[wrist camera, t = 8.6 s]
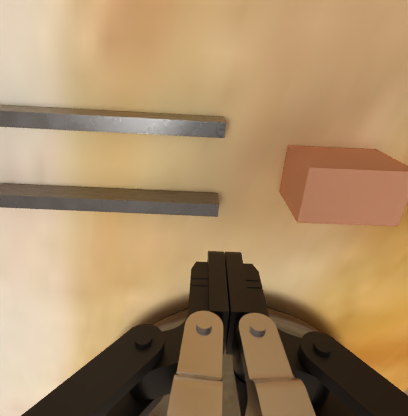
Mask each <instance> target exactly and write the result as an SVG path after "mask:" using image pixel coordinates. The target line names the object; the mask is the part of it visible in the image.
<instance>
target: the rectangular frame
mask: <svg viewBox="0 0 408 416" xmlns="http://www.w3.org/2000/svg"><path fill="white" fill-rule="evenodd" d="M225 125H226V122H225V119H224V117H220V116H201V115H183V114H164V113H145V112H126V111H107V110H89V109H70V108H51V107H32V106H13V105H0V127H19V128H39V129H58V130H78V131H97V132H117V133H136V134H156V135H176V136H195V137H215V138H224V137H225ZM0 207H7V208H30V209H53V210H76V211H100V212H123V213H146V214H169V215H192V216H215V217H218V208H219V202H218V194H217V193H205V192H183V191H161V190H139V189H117V188H95V187H73V186H52V185H30V184H8V183H0Z"/></svg>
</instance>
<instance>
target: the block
mask: <svg viewBox="0 0 408 416" xmlns="http://www.w3.org/2000/svg"><path fill="white" fill-rule="evenodd" d="M279 192H280V193H281V195H282V197H283V199H284V200H285V202H286V204H287V206H288V207H289V209H290V211H291V212H292V214H293V216H294V218H295V219H296V221H297V222H298V223H324V224H351V225H377V226H398V225H399V222H400V220H401V217H402V215H403V212H404V210H405V207H406V205H407V202H408V166H407V165H405V164H403V163H401V162H399V161H397V160H395V159H393V158H391V157H390V156H388V155H386V154H384V153H382V152H380V151H378V150H376V149H356V148H335V147H313V146H291V145H288V147H287V152H286V158H285V164H284V169H283V175H282V180H281V186H280V191H279Z"/></svg>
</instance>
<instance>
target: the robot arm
mask: <svg viewBox="0 0 408 416" xmlns="http://www.w3.org/2000/svg"><path fill="white" fill-rule="evenodd" d="M225 349H226V354H227V355H232V358H233V368H232V379H233V386H234V392H235V399H236V405H237V412H238V416H408V396H407V395H406V394H405V393H404V392H402V391H401V390H400V389H398V388H397V387H396V386H394V385H393V384H392V383H391V382H389V381H388V380H387V379H385V378H384V377H383V376H381V375H380V374H379V373H378V372H376V371H375V370H374V369H372V368H371V367H370V366H368V365H367V364H366V363H365V362H363V361H362V360H361V359H359V358H358V357H357V356H355V355H354V354H353V353H352V352H350V351H349V350H348V349H346V348H345V347H344V346H342V345H341V344H340V343H339V342H337V341H336V340H335V339H333V338H332V337H330V336H329V335H327V334H325V333H322V332H317V331H312V332H308V333H306V334H304V336H303V337H302V338H300V337H297V336H294V335H291V334H288V333H285V332H283V331H281V330H280V329H278V328H277V327H276V325H275V323H274V322H273V321H272V320H271V319H270V317H269V314H268V310H267V306H266V301H265V297H264V293H263V289H262V284H261V280H260V276H259V272H258V270H257V269H256V268H255V267H254V266H253V264H243V261H242V255H241V252H225V254H224V252H218V251H208V261H207V262H196V263H195V265H194V266H193V267H192V269H191V281H190V295H189V309H188V316H187V318H186V320H185V321H184V322H183V323H182V324H181V325H180V326H178V327H176V328H174V329H170V330H166V331H163V332H162V331H161V330H160V329H159V328H158V327H156V326H154V325H151V324H142V325H138V326H135V327H133V328H132V329H130V330H129V331H128V332H127V333H125V334H124V335H123V336H122V337H120V338H119V339H118V340H116V341H115V342H114V343H113V344H111V345H110V346H109V347H108V348H106V349H105V350H104V351H103V352H101V353H100V354H99V355H97V356H96V357H95V358H94V359H92V360H91V361H90V362H89V363H87V364H86V365H85V366H84V367H82V368H81V369H80V370H78V371H77V372H76V373H75V374H73V375H72V376H71V377H70V378H68V379H67V380H66V381H65V382H63V383H62V384H61V385H59V386H58V387H57V388H56V389H54V390H53V391H52V392H51V393H49V394H48V395H47V396H46V397H44V398H43V399H42V400H40V401H39V402H38V403H37V404H35V405H34V406H33V407H32V408H30V409H29V410H28V411H26V412H25V413H24V414H23V415H21V416H148V414H149V413H150V412H151V411H152V410H153V409H154V408H155V407H156V406H157V404H158V403H159V402H160V401H161V400H162V398H163V396H164V395H168V394H171V395H170V400H169V406H168V411H167V416H222V392H223V380H222V354H224V351H225Z"/></svg>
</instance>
